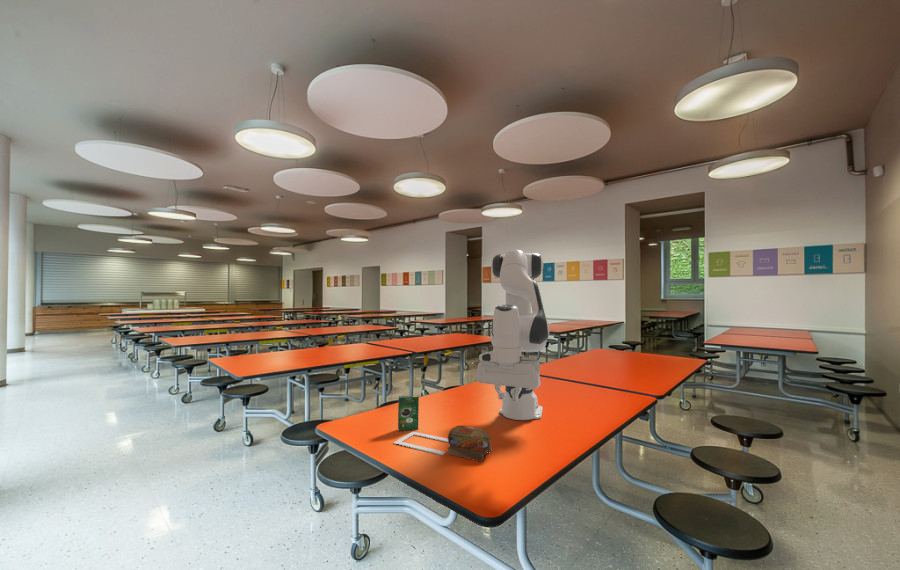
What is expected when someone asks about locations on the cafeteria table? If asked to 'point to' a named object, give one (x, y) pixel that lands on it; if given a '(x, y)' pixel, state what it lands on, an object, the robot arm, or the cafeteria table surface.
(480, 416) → the cafeteria table surface
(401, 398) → the coffee box
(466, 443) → the tin
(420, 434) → the frame
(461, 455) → the dark brown parallel bars
